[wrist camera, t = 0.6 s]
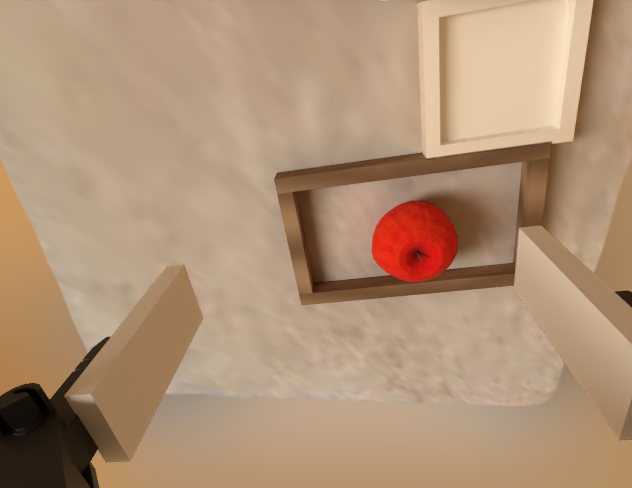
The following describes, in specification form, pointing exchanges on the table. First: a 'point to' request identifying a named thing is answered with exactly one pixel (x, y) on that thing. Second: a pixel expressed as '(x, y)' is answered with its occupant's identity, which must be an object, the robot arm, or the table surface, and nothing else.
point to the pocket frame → (398, 167)
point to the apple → (414, 242)
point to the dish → (499, 72)
